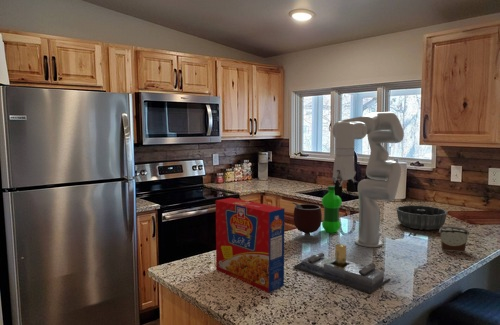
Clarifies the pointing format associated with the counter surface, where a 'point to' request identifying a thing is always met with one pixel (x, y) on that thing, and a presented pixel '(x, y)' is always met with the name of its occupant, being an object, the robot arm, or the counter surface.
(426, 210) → the bundt pan
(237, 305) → the counter surface
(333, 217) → the plastic bottle
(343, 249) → the brass pin
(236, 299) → the counter surface
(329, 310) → the counter surface
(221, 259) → the pasta box
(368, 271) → the gray slotted panel
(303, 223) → the mate gourd
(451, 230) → the food container
